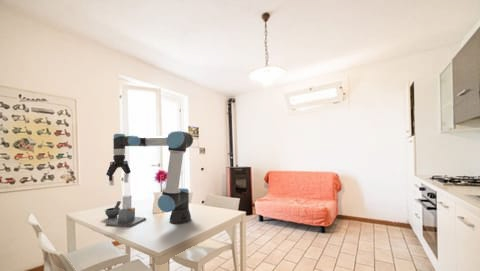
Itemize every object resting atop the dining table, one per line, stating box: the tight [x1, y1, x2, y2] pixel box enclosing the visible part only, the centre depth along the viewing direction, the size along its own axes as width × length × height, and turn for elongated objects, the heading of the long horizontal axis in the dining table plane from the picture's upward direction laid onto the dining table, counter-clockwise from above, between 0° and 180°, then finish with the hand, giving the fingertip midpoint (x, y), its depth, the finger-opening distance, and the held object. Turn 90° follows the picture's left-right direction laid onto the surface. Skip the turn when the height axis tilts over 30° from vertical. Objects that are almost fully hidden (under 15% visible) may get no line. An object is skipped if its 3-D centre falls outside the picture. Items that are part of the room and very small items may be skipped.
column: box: [121, 194, 132, 210], centre depth 153 cm, size 5×4×17 cm
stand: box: [105, 207, 147, 228], centre depth 152 cm, size 20×16×10 cm
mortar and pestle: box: [104, 200, 122, 221], centre depth 163 cm, size 11×9×12 cm
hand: (119, 183), depth 155 cm, fingers open, 13 cm apart
